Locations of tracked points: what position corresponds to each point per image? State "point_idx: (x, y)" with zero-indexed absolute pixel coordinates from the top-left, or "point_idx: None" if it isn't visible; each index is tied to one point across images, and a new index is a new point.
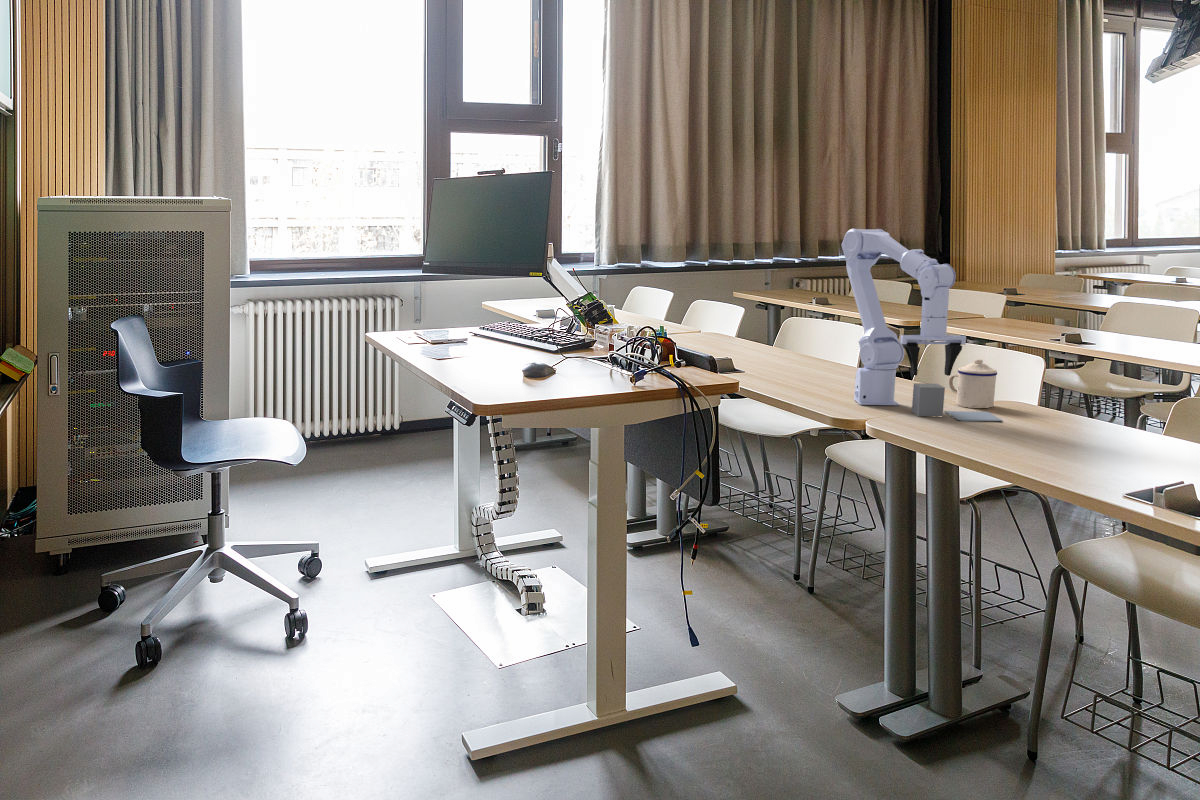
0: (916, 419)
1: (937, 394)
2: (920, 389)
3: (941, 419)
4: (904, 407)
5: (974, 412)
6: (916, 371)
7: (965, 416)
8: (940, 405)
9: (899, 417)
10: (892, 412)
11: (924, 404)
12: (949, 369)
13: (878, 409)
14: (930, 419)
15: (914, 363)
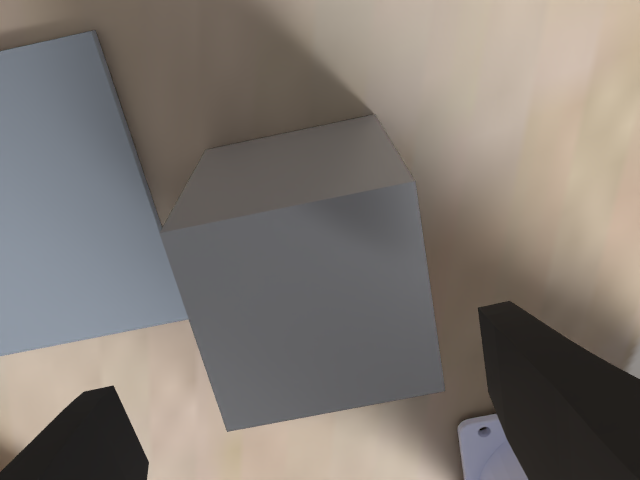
0: (397, 6)
1: (236, 193)
2: (407, 172)
3: (214, 68)
4: (425, 397)
5: (1, 326)
6: (506, 323)
7: (46, 170)
8: (215, 168)
9: (513, 49)
10: (529, 221)
11: (343, 144)
12: (64, 430)
13: (601, 292)
14: (293, 41)
15: (600, 371)
